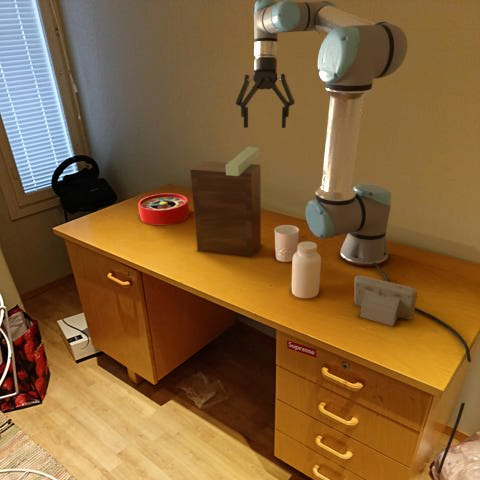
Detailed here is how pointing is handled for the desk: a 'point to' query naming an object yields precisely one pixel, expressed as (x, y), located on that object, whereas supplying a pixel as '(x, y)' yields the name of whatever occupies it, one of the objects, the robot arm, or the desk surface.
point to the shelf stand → (227, 209)
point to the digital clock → (384, 300)
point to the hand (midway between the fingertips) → (264, 127)
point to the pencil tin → (242, 161)
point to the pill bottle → (306, 270)
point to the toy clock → (163, 209)
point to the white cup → (286, 242)
